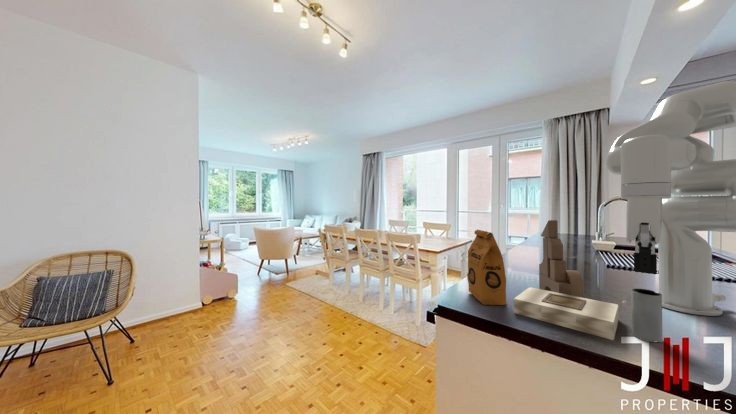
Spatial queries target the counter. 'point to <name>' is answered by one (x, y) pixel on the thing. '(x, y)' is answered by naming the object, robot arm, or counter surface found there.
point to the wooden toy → (557, 265)
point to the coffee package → (486, 270)
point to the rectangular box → (569, 311)
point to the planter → (647, 315)
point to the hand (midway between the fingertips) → (645, 268)
